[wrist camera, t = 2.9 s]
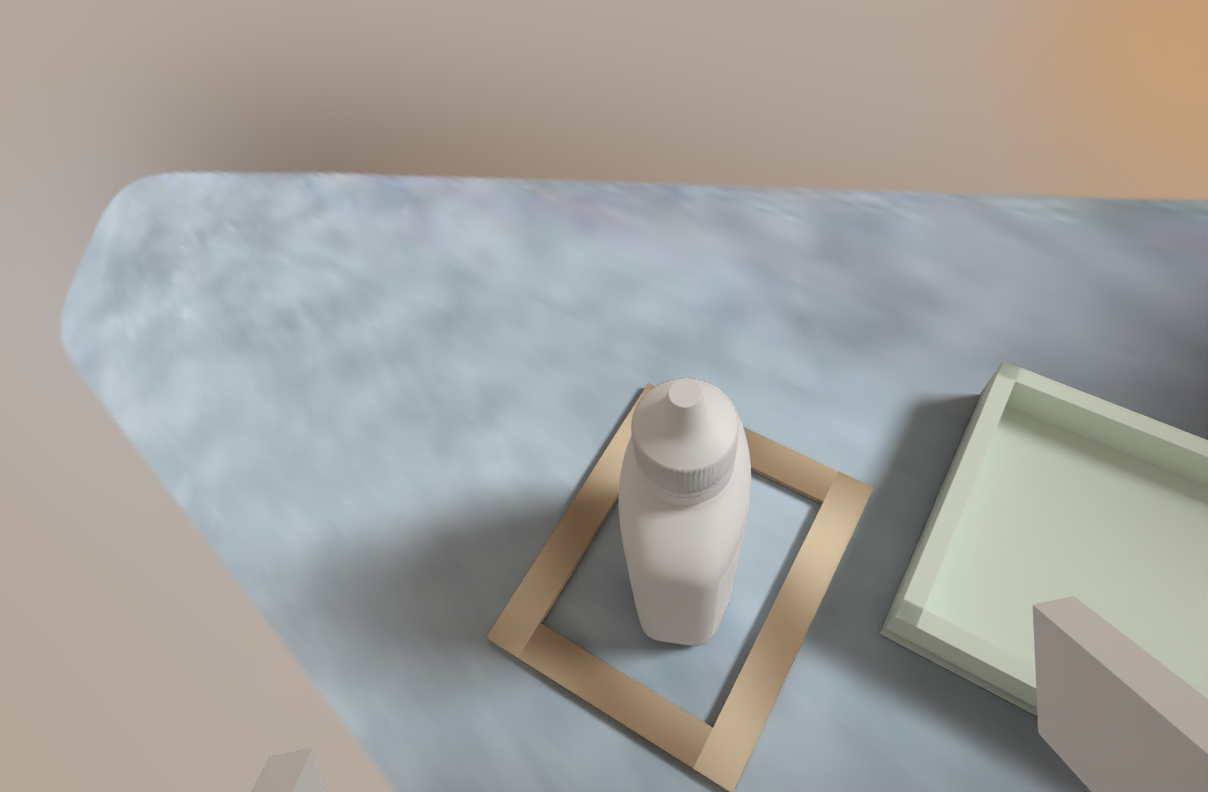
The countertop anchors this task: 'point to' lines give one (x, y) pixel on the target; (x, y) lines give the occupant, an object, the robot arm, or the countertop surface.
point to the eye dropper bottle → (684, 508)
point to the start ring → (771, 655)
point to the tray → (1059, 536)
